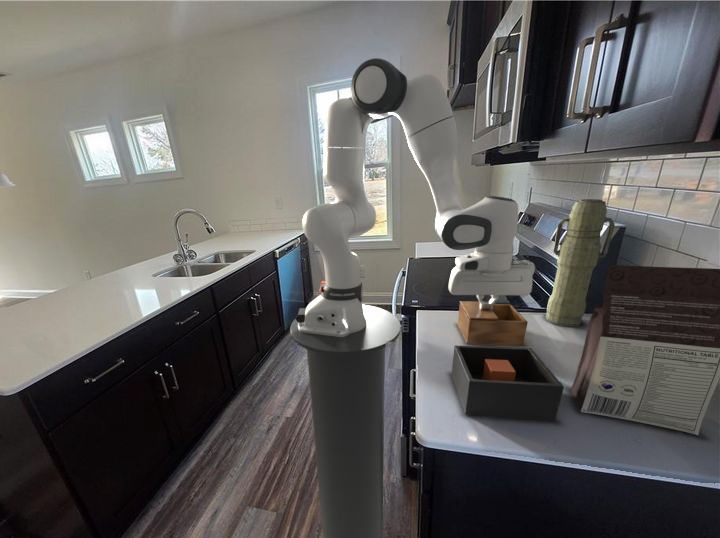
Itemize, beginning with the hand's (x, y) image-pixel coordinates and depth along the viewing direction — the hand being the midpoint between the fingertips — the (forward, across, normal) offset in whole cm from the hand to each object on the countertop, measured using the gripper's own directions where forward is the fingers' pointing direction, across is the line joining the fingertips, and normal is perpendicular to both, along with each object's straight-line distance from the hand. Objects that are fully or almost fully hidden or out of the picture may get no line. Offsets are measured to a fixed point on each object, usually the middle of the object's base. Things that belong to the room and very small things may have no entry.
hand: (485, 309), depth 88 cm
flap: (0, +2, 0) cm, 2 cm away
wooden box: (+8, -2, 0) cm, 8 cm away
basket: (+8, +4, +28) cm, 29 cm away
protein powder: (+8, -18, +30) cm, 36 cm away
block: (+7, +5, +28) cm, 29 cm away
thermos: (+8, -26, -11) cm, 29 cm away
